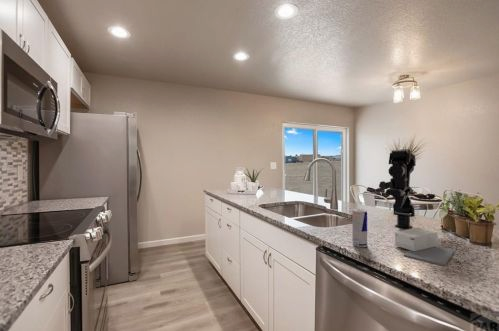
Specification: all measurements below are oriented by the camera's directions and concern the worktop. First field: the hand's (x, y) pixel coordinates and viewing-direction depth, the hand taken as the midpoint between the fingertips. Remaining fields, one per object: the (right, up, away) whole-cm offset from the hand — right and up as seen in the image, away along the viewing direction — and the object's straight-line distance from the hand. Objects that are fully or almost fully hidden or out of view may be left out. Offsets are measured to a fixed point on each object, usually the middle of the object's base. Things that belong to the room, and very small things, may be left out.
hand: (399, 208), depth 117 cm
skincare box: (+3, -9, -15) cm, 18 cm away
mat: (-4, -13, -25) cm, 29 cm away
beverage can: (-26, -13, -15) cm, 33 cm away
